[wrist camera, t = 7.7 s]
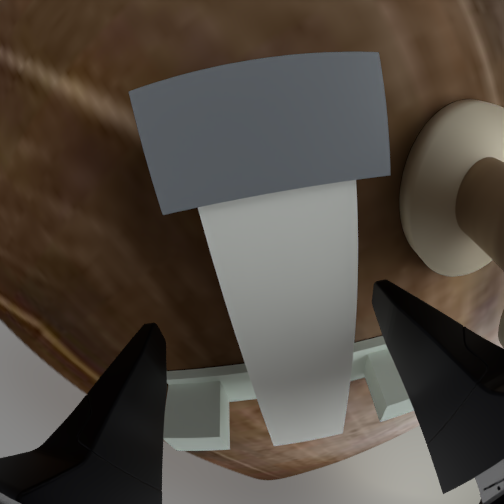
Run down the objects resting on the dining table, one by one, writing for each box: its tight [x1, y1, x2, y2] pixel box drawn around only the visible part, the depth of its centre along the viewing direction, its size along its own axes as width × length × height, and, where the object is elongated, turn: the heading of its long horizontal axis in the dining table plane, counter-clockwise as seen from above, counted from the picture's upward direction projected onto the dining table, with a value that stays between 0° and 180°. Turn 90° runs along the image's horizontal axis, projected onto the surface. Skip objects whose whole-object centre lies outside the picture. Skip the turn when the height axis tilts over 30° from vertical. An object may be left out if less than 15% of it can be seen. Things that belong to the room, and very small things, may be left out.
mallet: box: [129, 52, 391, 446], centre depth 9 cm, size 14×4×4 cm, turn 10°
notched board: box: [163, 336, 414, 451], centre depth 14 cm, size 3×14×4 cm, turn 100°
